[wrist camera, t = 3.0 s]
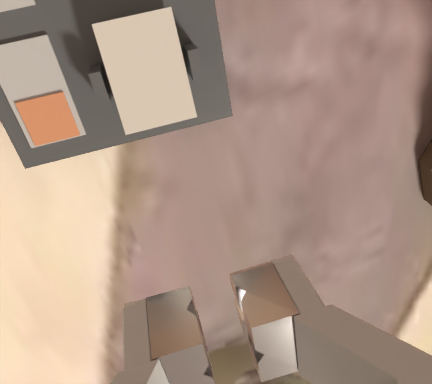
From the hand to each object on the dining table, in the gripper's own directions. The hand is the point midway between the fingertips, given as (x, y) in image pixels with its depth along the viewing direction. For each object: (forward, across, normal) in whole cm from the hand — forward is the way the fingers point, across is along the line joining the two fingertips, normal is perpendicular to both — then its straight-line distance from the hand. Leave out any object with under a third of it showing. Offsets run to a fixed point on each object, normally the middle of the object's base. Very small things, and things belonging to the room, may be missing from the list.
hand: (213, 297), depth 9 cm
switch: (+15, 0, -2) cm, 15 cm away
